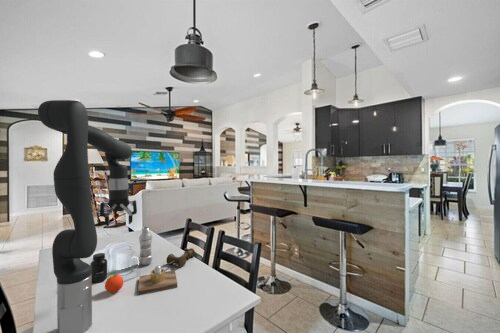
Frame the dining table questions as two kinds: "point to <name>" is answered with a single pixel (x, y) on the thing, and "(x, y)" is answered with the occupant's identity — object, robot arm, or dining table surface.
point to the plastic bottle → (145, 247)
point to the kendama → (180, 258)
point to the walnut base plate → (148, 287)
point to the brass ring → (158, 276)
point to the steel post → (157, 270)
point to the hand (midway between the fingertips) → (119, 224)
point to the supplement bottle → (99, 268)
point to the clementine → (114, 283)
